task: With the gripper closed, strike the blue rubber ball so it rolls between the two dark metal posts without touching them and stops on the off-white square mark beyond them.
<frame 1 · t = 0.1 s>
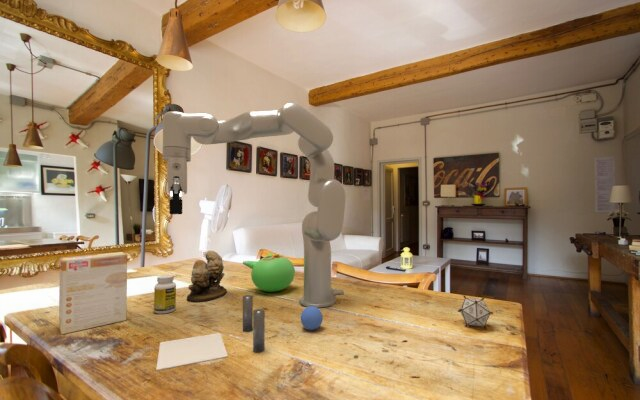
hand: (176, 213, 90), 31 cm above the table, tool pointing down, fingers open, 9 cm apart
post 1: (247, 329, 84), on the table
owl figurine: (208, 296, 117), on the table
game die: (474, 327, 86), on the table
post 2: (258, 350, 72), on the table
green teapot: (272, 291, 124), on the table
coffeecake box: (93, 324, 88), on the table
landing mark: (192, 349, 72), on the table
pill bottle: (165, 311, 99), on the table
ball: (311, 317, 84), on the table
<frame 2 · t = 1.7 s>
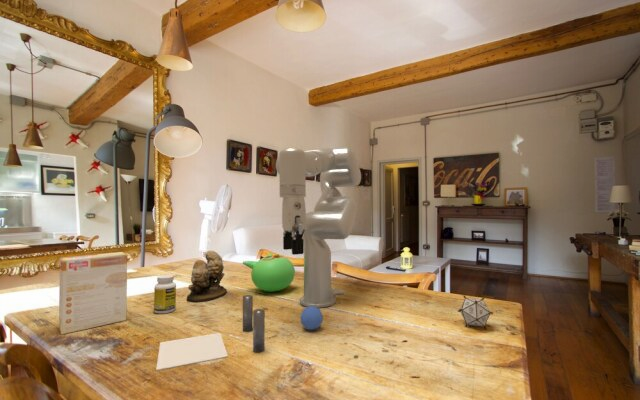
hand: (292, 251, 89), 20 cm above the table, tool pointing down, fingers open, 9 cm apart
nothing on the table moved.
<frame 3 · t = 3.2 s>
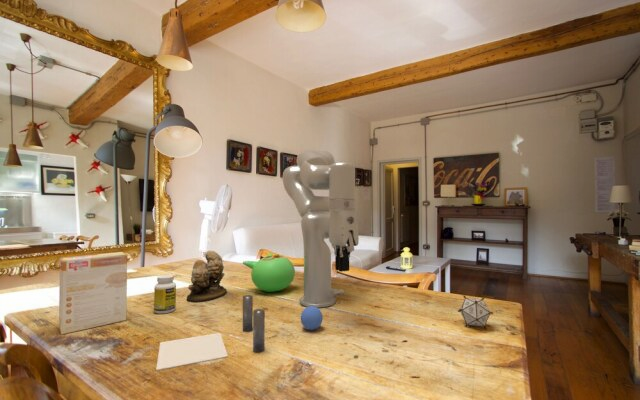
hand: (342, 270, 89), 15 cm above the table, tool pointing down, fingers closed
nothing on the table moved.
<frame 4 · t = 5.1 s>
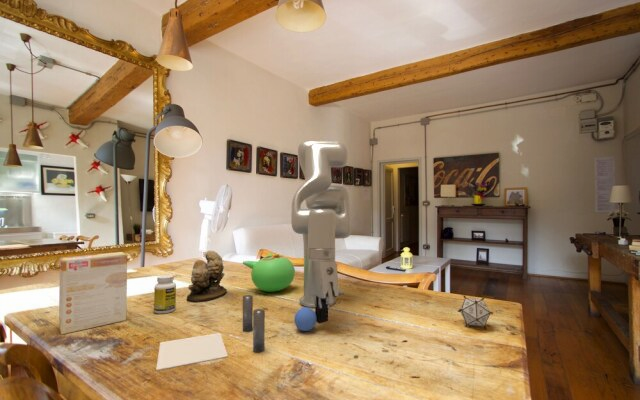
hand: (321, 321, 85), 2 cm above the table, tool pointing down, fingers closed
ball: (305, 318, 83), on the table
everything else where it was.
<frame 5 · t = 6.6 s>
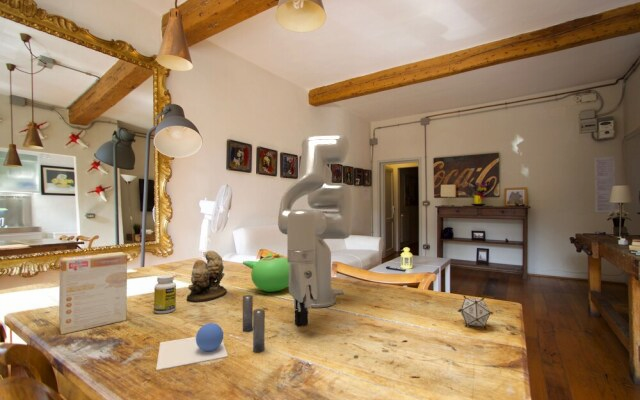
hand: (301, 325, 83), 2 cm above the table, tool pointing down, fingers closed
ball: (209, 337, 72), on the table
everything else where it was.
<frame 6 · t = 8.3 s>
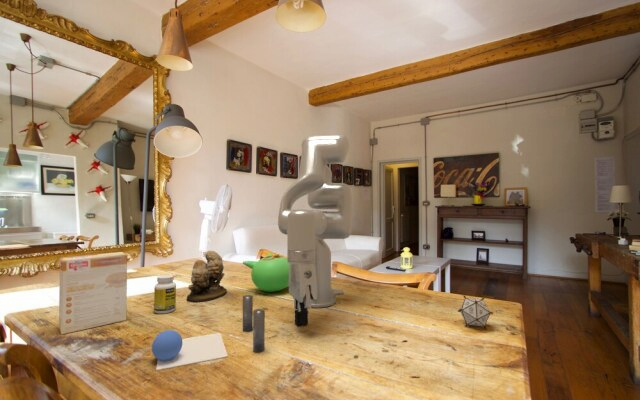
hand: (301, 325, 83), 2 cm above the table, tool pointing down, fingers closed
ball: (167, 345, 67), on the table
everything else where it was.
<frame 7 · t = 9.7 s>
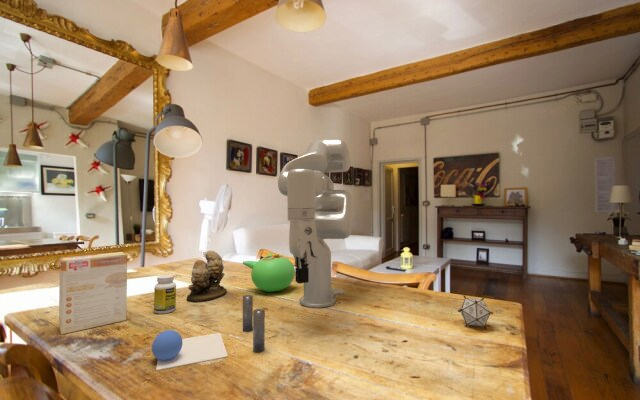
hand: (302, 282, 84), 13 cm above the table, tool pointing down, fingers closed
nothing on the table moved.
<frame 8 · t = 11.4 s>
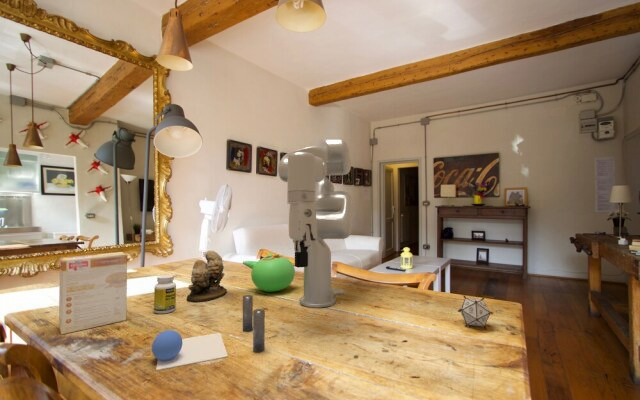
hand: (301, 266, 83), 17 cm above the table, tool pointing down, fingers closed
nothing on the table moved.
at the end: ball 5.7 cm from the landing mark (horizontally); ball never touched post 2; ball never touched post 1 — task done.
